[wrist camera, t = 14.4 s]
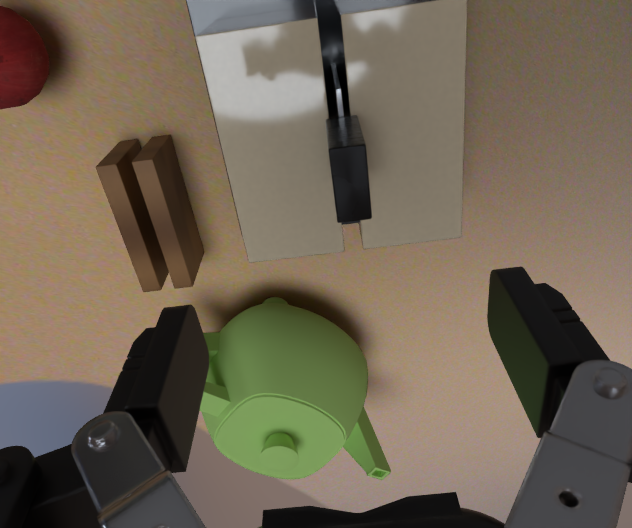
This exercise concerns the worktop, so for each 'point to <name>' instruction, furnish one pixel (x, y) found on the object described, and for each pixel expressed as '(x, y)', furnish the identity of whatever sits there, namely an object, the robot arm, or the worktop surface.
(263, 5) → the cake
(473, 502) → the worktop surface
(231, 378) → the teapot
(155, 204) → the knife block
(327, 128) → the knife
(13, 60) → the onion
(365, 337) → the worktop surface
